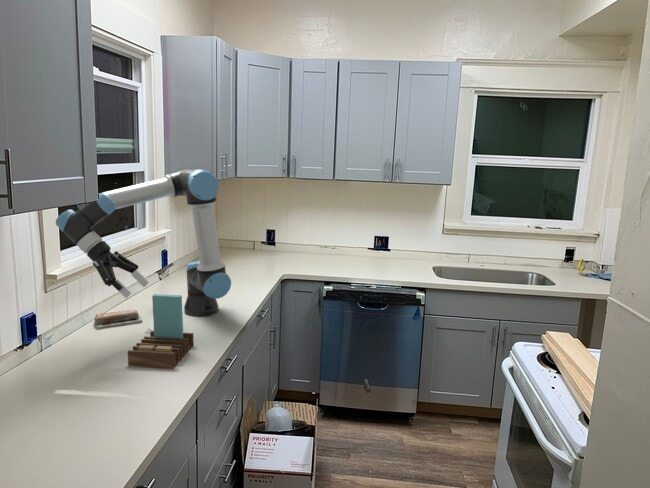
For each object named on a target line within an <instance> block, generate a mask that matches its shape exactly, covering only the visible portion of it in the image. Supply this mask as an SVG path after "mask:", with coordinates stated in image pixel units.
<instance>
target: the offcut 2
mask: <svg viewBox="0 0 650 488" xmlns="http://www.w3.org/2000/svg"><path fill="white" fill-rule="evenodd" d="M155 352H172V347H171V346H157V347H156V348H155Z"/></svg>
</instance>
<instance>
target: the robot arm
mask: <svg viewBox="0 0 650 488" xmlns="http://www.w3.org/2000/svg"><path fill="white" fill-rule="evenodd" d="M219 187H220V186H219V181H218V178H217V177H216V175H215V174H213V173H212V172H210V171H209V170H205V169H201V168H200V169H198V168H185V169H182V170H179V171H175V172H172V173H169V174H165V175H164V177H163V178H158V179H154V180H149V181H146V182H141V183H138V184H134V185H133V184H132V185H129V186H124V187H120V188H116V189H112V190H107V191H103V192H99V193H98V194H99V199H98V201H95V202H92V203H87V204H81V205H78V204H77V208H78V210H77V211H75V210H74V209H67V210H65V211H64V212H61V213H60V214H59V215H58V216H57V218H56V219H55V225H56V226H57V227H58V229H59V230H60V231H61V232H62V233H64V235H65V236H66V237H67V238H68V239H69V240H70V241H72V243H74V244H75V245H76V246H77V247H78V248H79V250H80V251H81V252H83V253H84V254H86V256H87V257H88V258H89V259H90V260H91V261H92V262H93V263H92V266H94V268H95V269H96V271H97V273H98V275H99V276H100V278H101V280H102V282H103V283H104V285H105V286H108V287H112V286H113V288H115V290H117V291H118V292H119V293H120V294H121V296H122V297H124V298H125V299H127V298H128V297H129V296H130V295H131V294H132V291H131V290H130V289H129V288H128V287H127V286H126V285H125V284H124V283H123V282H122V281H121V280H120V279H119V278H118V279H117V277H116V274H115V272H114V268H119V269H121V270H124V271H126V272H128V273H130V275H131V276H132V277H133V278H134V280H136V281H137V282H138V284H140V285H141V286H142V287H143V288H145V287H146V286H147V285H148V284H149V283H150V281H149V280H148V279H147V278H146V277H145V276H144V275H143V274H142V273H141V272H140V271H139V270H138V269H139V265H137V264H136V263H135V262H133V261H132V260H130V259H128V258H126V256H123V255H122V254H121V253H119V251H116V250H115V251H114V252H113V253H112V252H111V246H110V245H109V244H108V243H107V242H106V241H105V240H103V238H102V237H101V236H100V235H99V234H98V233H97V232H96V231H95V230H94V229H93V228H94V227H95V226H96V225H97V224H100V222H101V221H103V220H105V218H107V217H108V216H109V215H111V214H112V213H114V211H115V210H119V209H123V208H127V207H131V206H134V205H139V204H142V203H146V202H147V203H148V202H149V201H154V200H155V201H156V200H158V199H163V198H167V197H170V198H176V197H182V196H183V197H185V198H186V202H187V203H186V205H187V206H189V208H191V211H192V218H193V225H194V232H195V233H194V234H195V239H196V247H197V252H198V261H192V262H188V263H187V264H186V287H187V296H186V299H185V303H184V308H183V311H184V314H186V315H188V316H191V317H206V316H210V315H214V314H215V313H218V312H219V303H218V301H217V299H221V298H223V297H225V296H226V295H227V294H228V293H229V291H230V290H231V287H232V279H231V277H230V276H229V275H228V274H227V271H226V265H225V263H224V261H221V255H220V254H221V253H220V247H219V239H218V232H217V223H216V217H215V210H214V209H215V208H214V206H215V204H216V203H217V197H216V196H217V194H218V192H219Z"/></svg>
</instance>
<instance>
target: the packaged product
mask: <svg viewBox="0 0 650 488" xmlns="http://www.w3.org/2000/svg"><path fill="white" fill-rule="evenodd" d="M143 322H144V321H143V318H142V317H141V315H140V313H138V309H137V310H136V309H130V310H121V311H119V310H118V311H114V312H113V311H112V312H105V313H97V314H95V316H94V326H95V330H101V329H110V328H117V327H123V326H130V325H137V324H142V323H143Z"/></svg>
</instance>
